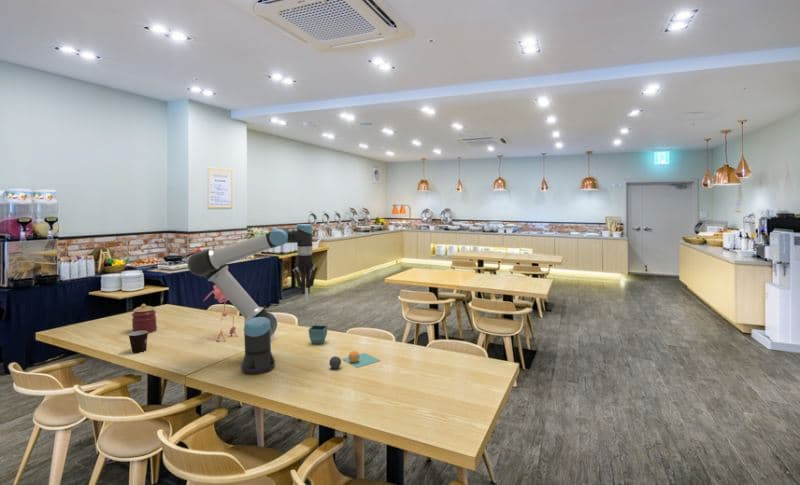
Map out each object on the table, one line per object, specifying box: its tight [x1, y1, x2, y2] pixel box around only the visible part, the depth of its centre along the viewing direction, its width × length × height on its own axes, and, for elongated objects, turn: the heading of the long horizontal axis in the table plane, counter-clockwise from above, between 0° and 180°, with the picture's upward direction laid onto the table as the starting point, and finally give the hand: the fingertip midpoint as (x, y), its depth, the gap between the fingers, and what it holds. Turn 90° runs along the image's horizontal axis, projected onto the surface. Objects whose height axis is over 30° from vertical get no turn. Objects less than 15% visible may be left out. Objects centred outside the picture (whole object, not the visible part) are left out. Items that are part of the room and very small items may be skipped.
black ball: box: [329, 355, 342, 369], centre depth 191 cm, size 6×6×6 cm
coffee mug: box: [128, 331, 149, 354], centre depth 215 cm, size 12×9×10 cm
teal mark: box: [341, 352, 381, 369], centre depth 201 cm, size 14×14×1 cm
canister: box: [131, 303, 158, 334], centre depth 249 cm, size 13×13×18 cm
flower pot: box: [308, 324, 328, 345], centre depth 228 cm, size 9×9×9 cm
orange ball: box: [347, 350, 360, 363], centre depth 198 cm, size 6×6×6 cm
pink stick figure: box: [203, 284, 238, 342], centre depth 236 cm, size 15×26×35 cm, turn 159°
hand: (305, 300), depth 204 cm, fingers closed
